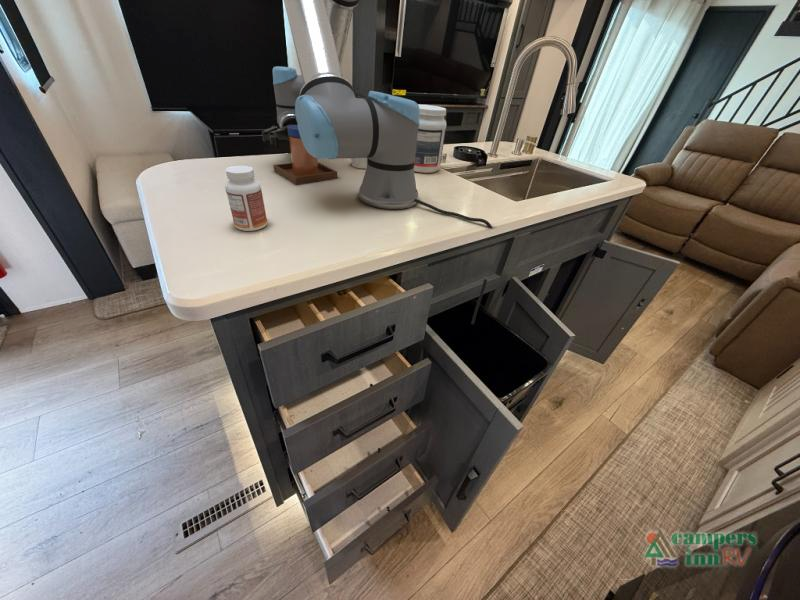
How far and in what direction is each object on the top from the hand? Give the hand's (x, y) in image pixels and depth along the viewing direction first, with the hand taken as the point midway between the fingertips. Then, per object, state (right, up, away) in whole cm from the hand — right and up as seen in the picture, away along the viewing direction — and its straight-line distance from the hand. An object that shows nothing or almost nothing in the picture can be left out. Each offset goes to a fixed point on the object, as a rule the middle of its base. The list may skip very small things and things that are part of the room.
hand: (303, 143), depth 89 cm
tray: (-1, -7, +5) cm, 9 cm away
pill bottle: (-3, -29, -24) cm, 37 cm away
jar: (-1, -7, +5) cm, 8 cm away
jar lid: (0, +3, -2) cm, 4 cm away
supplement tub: (+34, +1, +21) cm, 40 cm away
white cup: (+14, +1, +17) cm, 23 cm away
